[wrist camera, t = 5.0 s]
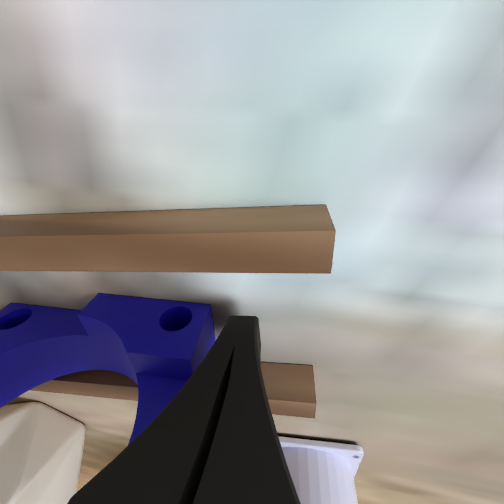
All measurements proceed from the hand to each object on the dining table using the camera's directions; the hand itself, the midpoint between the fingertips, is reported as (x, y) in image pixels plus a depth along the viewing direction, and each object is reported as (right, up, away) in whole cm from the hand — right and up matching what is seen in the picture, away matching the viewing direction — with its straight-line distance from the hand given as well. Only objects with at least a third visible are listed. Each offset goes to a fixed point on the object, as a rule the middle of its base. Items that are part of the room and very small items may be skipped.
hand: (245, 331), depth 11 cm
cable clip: (-8, 0, +3) cm, 8 cm away
